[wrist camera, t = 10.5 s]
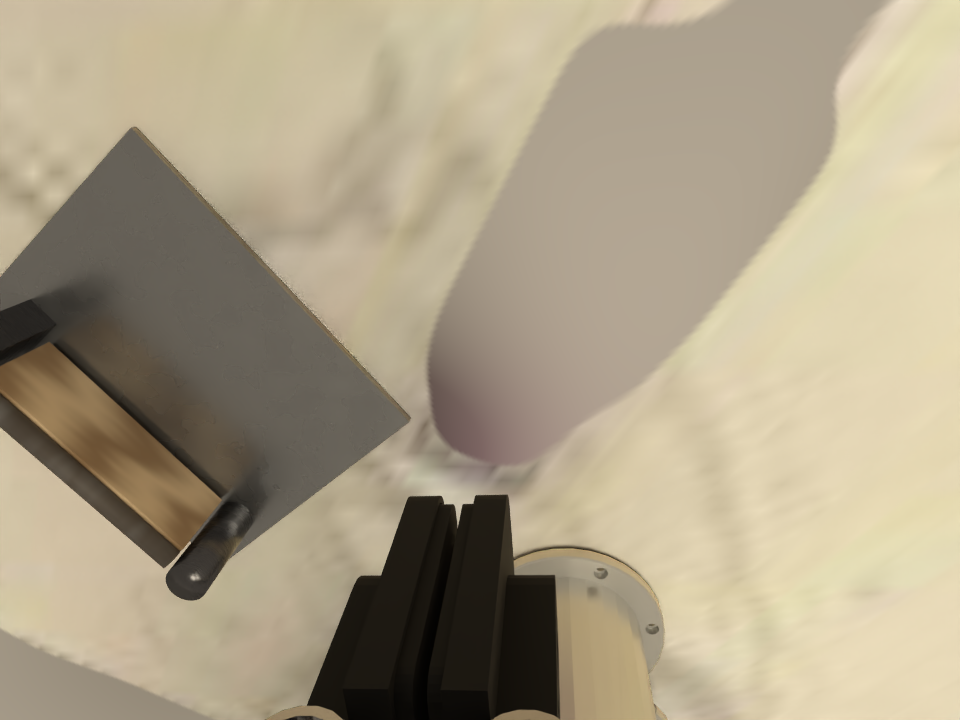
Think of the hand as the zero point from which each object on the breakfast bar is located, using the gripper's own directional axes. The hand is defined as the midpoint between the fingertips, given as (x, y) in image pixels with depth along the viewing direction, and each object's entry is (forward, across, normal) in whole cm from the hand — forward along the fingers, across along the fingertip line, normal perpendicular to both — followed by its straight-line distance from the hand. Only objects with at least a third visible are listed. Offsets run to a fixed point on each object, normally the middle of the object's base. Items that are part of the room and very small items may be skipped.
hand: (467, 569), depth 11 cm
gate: (+26, +25, +10) cm, 37 cm away
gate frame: (+27, +21, +7) cm, 35 cm away
